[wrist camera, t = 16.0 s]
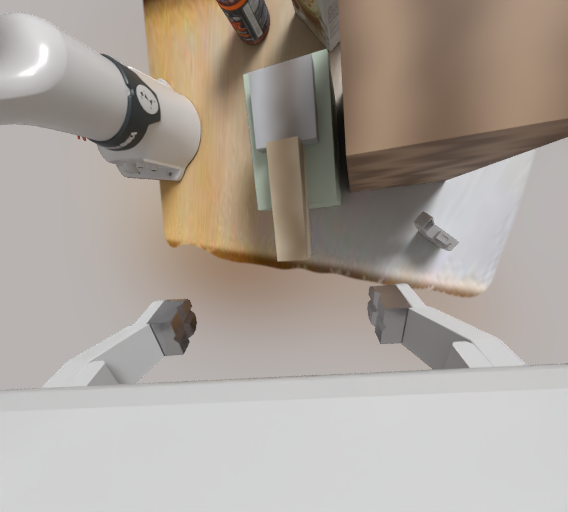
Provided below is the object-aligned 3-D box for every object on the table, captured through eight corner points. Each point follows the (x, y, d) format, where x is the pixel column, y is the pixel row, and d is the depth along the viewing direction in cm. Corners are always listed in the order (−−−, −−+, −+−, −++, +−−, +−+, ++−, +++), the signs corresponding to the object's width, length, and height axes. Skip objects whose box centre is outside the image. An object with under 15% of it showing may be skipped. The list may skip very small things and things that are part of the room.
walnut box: (350, 192, 39) (346, 155, 14) (344, 88, 37) (329, -166, 12) (446, 180, 35) (667, 101, 10) (447, 63, 32) (740, -403, 8)
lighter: (447, 239, 36) (472, 245, 29) (438, 247, 37) (461, 256, 29) (410, 211, 37) (424, 211, 29) (402, 220, 38) (414, 222, 30)
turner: (273, 256, 30) (263, 261, 27) (255, 82, 27) (242, 64, 24) (326, 254, 28) (322, 259, 25) (314, 65, 25) (308, 43, 22)
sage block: (286, 211, 43) (258, 210, 30) (277, 118, 40) (242, 74, 28) (341, 205, 40) (336, 201, 27) (335, 104, 37) (327, 48, 25)
